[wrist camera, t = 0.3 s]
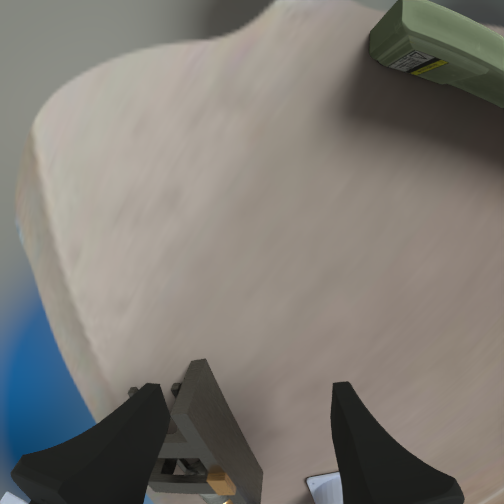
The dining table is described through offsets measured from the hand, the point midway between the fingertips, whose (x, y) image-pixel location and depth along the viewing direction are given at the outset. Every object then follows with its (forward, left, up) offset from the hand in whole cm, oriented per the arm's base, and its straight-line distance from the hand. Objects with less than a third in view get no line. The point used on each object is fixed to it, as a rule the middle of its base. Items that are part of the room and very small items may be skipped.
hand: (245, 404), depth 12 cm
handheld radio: (+9, -23, -10) cm, 27 cm away
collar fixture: (-17, +10, -10) cm, 22 cm away
